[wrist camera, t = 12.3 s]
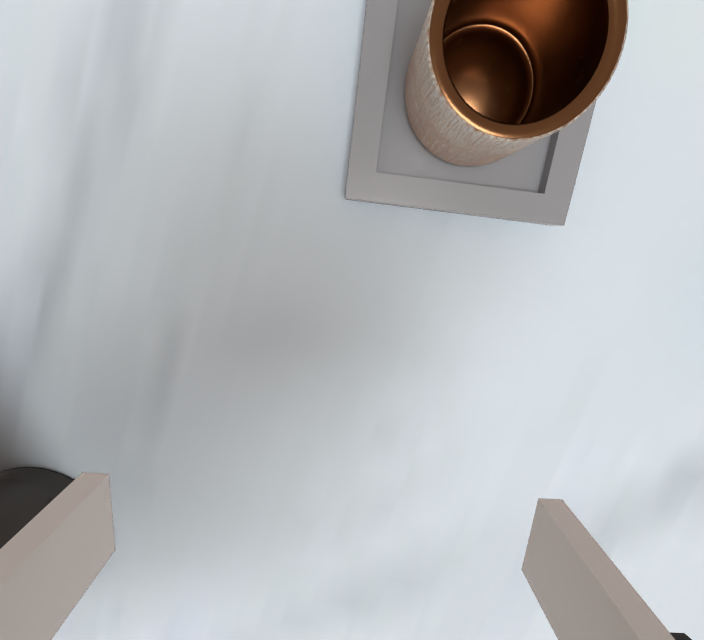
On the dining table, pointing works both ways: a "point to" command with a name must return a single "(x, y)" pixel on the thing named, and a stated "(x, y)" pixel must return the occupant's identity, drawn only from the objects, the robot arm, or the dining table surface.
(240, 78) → the dining table surface
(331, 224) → the dining table surface
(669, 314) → the dining table surface
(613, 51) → the planter
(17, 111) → the dining table surface
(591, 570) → the robot arm
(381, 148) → the grey tray
